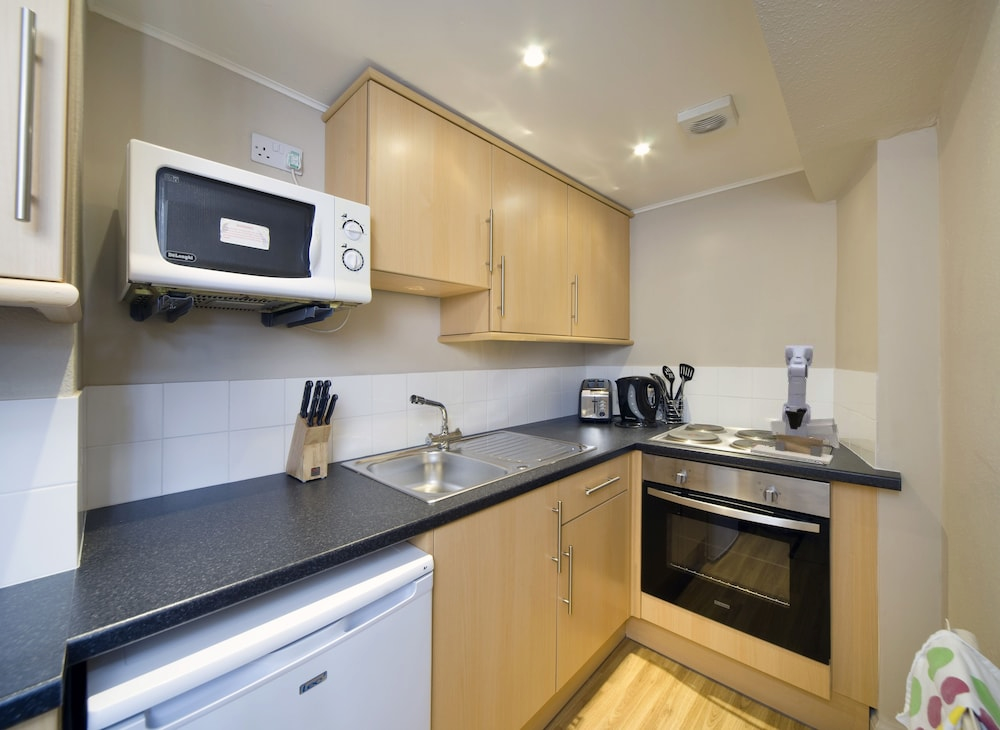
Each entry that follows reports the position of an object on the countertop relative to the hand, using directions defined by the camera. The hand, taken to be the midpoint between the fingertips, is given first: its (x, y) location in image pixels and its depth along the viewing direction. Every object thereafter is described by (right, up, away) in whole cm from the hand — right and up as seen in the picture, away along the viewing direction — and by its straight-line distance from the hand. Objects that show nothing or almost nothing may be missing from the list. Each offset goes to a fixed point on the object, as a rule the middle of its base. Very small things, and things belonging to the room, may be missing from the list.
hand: (795, 427), depth 159 cm
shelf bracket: (+18, -10, +19) cm, 28 cm away
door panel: (-3, -9, -5) cm, 11 cm away
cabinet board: (-6, -10, -6) cm, 13 cm away
